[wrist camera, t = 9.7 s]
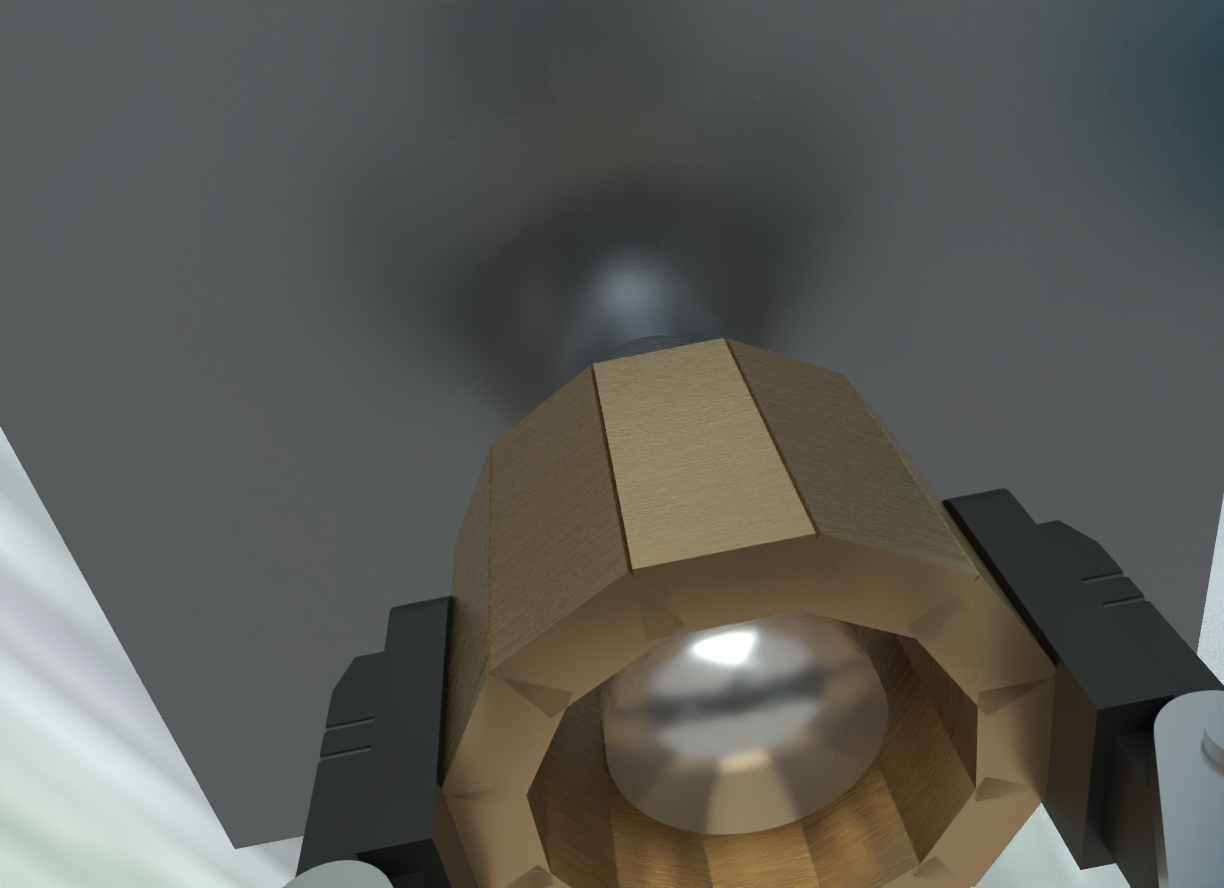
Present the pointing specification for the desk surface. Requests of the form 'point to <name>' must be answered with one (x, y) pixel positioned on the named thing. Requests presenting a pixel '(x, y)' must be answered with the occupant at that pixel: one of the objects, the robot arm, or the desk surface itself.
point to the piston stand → (584, 318)
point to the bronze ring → (717, 596)
